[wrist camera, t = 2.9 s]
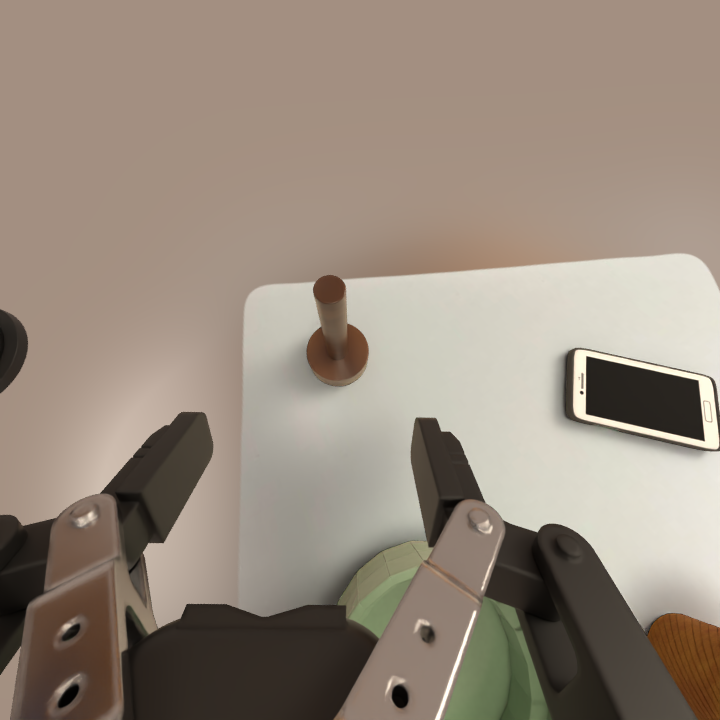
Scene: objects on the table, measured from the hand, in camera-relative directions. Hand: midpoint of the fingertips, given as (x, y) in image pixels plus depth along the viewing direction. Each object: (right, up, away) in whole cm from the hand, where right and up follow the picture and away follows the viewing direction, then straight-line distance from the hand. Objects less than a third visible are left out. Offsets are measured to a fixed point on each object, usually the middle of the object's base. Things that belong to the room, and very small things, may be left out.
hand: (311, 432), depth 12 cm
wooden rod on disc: (0, +3, +20) cm, 20 cm away
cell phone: (+30, -1, +20) cm, 36 cm away
